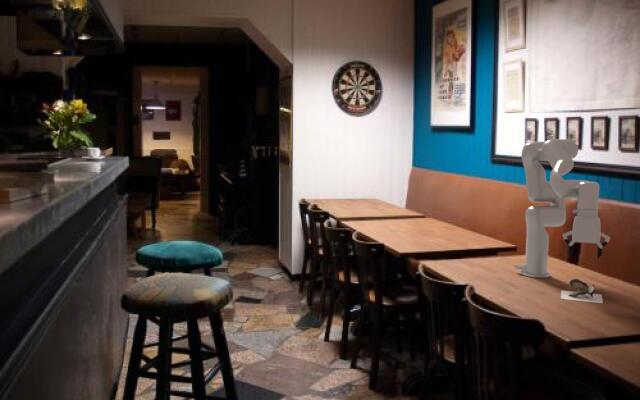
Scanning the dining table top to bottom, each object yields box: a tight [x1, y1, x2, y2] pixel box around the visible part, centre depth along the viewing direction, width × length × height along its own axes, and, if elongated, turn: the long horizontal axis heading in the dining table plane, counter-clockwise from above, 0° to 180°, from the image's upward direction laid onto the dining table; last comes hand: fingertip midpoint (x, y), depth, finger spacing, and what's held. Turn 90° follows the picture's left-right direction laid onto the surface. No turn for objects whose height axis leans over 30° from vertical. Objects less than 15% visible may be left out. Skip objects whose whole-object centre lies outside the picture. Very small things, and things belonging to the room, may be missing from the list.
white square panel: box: [560, 289, 604, 304], centre depth 249 cm, size 15×14×1 cm
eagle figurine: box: [569, 278, 596, 298], centre depth 249 cm, size 8×7×9 cm
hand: (584, 257), depth 247 cm, fingers open, 9 cm apart
